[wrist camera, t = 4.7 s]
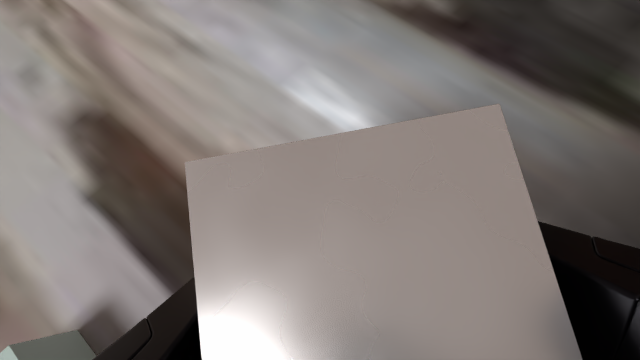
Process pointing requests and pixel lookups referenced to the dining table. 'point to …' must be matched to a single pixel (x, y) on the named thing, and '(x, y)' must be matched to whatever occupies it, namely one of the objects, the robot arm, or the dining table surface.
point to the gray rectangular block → (375, 248)
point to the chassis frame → (50, 348)
